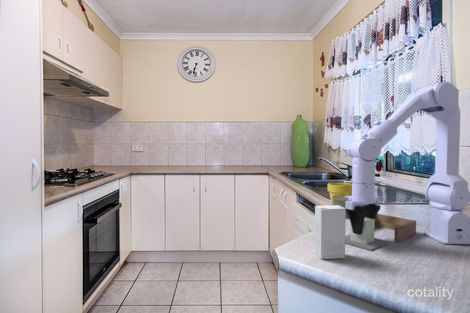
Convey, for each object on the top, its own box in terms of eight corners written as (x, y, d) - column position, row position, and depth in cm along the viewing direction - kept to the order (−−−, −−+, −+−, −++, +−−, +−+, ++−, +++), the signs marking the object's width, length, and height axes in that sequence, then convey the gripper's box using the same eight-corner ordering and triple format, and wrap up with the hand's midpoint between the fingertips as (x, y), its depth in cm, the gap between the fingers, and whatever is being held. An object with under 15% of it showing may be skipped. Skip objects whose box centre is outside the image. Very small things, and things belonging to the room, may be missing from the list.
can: (329, 217, 108) (330, 199, 107) (333, 211, 118) (333, 194, 118) (365, 221, 102) (365, 202, 102) (365, 214, 113) (366, 196, 113)
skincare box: (337, 252, 72) (338, 204, 72) (346, 259, 68) (347, 208, 67) (313, 253, 72) (314, 204, 71) (320, 260, 67) (321, 208, 67)
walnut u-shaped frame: (415, 233, 88) (416, 220, 87) (397, 242, 80) (397, 228, 80) (374, 224, 97) (374, 213, 97) (354, 231, 90) (354, 219, 89)
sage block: (374, 240, 80) (374, 219, 80) (366, 244, 77) (366, 221, 77) (358, 236, 83) (359, 216, 83) (350, 239, 81) (350, 218, 80)
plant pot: (328, 202, 135) (328, 181, 134) (352, 204, 131) (352, 182, 131) (326, 207, 125) (326, 184, 125) (352, 209, 121) (352, 185, 121)
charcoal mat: (389, 242, 79) (389, 241, 79) (371, 251, 73) (371, 249, 73) (354, 234, 87) (354, 232, 87) (335, 240, 81) (335, 239, 81)
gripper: (362, 179, 87) (361, 224, 88) (335, 183, 78) (334, 233, 79) (386, 181, 82) (385, 229, 82) (360, 186, 73) (359, 239, 73)
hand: (362, 231), depth 80 cm, fingers open, 5 cm apart
